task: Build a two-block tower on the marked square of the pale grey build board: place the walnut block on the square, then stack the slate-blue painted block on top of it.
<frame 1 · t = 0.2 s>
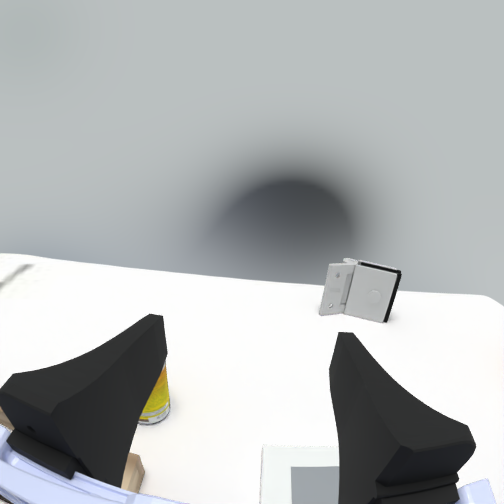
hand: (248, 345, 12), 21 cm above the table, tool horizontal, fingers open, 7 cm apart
build board: (322, 496, 23), on the table
plank frame: (5, 474, 17), on the table
hinge: (352, 315, 57), on the table
supplement bottle: (147, 409, 32), on the table
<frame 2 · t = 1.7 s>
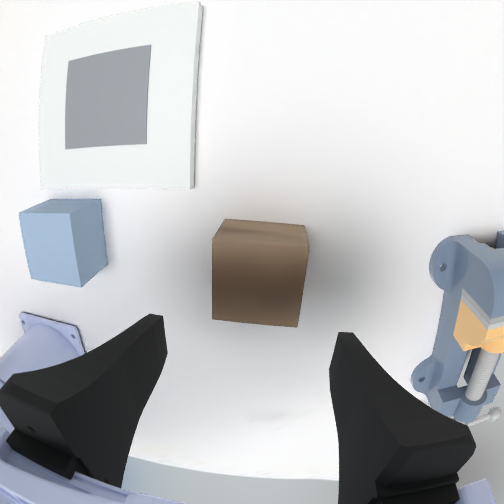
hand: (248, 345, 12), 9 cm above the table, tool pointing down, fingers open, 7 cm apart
build board: (111, 98, 18), on the table
vise: (463, 330, 22), on the table
walnut block: (261, 257, 21), on the table
blue block: (78, 230, 21), on the table
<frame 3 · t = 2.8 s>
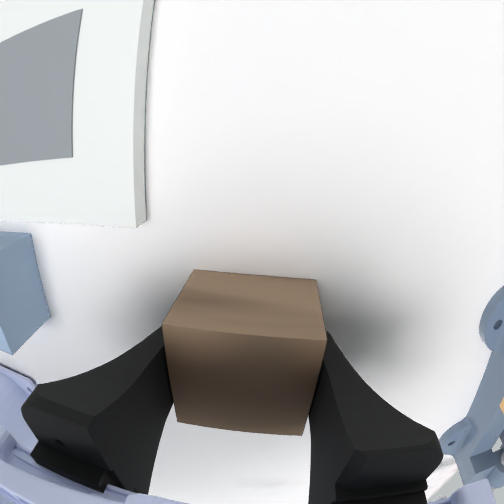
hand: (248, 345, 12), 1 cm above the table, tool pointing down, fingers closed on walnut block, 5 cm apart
build board: (36, 93, 10), on the table
walnut block: (251, 325, 14), on the table, touching gripper
blue block: (14, 271, 14), on the table
when the fingers open (3 cm above the table, at t = 6.2 s): walnut block stays where it is, resting on build board.
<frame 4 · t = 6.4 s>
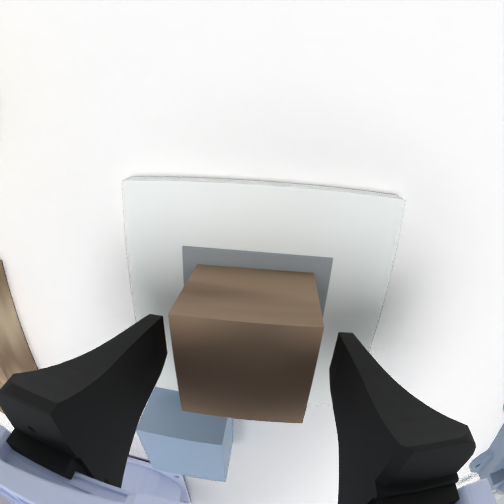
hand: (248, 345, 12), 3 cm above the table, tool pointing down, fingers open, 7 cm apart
build board: (254, 304, 15), on the table
walnut block: (252, 317, 14), point 1 cm above the table, touching build board
blue block: (196, 413, 19), on the table
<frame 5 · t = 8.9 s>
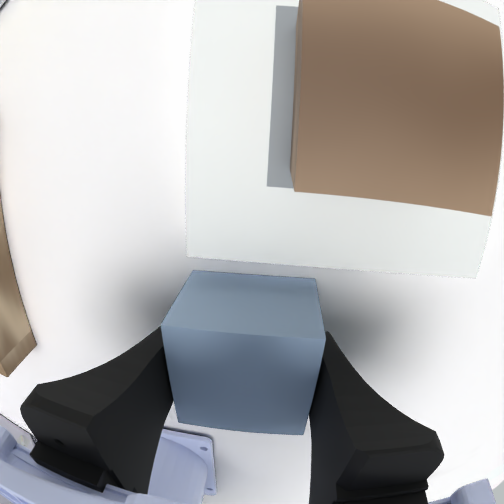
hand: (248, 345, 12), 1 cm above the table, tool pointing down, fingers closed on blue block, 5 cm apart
build board: (361, 104, 10), on the table
walnut block: (369, 102, 9), point 1 cm above the table, touching build board
blue block: (251, 325, 14), on the table, touching gripper
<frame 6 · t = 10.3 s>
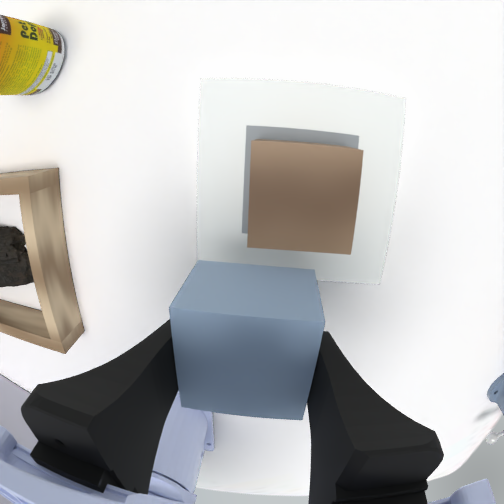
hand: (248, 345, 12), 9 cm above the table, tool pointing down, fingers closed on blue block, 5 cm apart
build board: (298, 181, 19), on the table
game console: (5, 384, 32), on the table
supplement bottle: (43, 62, 17), on the table
walnut block: (299, 184, 18), point 1 cm above the table, touching build board
blue block: (252, 314, 14), point 7 cm above the table, touching gripper
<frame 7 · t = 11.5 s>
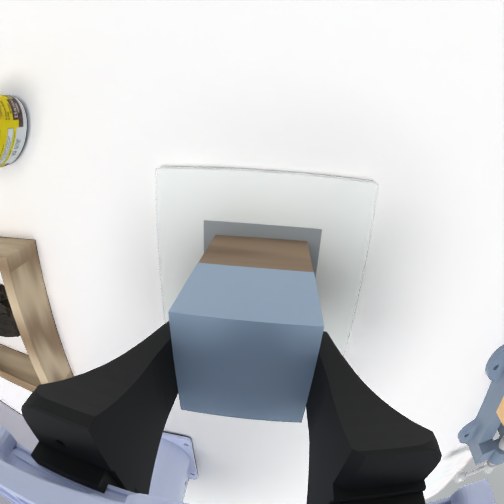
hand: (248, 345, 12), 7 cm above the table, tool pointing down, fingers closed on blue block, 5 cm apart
build board: (260, 270, 19), on the table
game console: (6, 409, 33), on the table
vise: (500, 397, 23), on the table
supplement bottle: (9, 129, 17), on the table
walnut block: (258, 279, 18), point 1 cm above the table, touching blue block, build board
blue block: (252, 316, 14), point 5 cm above the table, touching gripper, walnut block
when the fingers open (7 cm above the table, at t = 11.6 s): blue block stays where it is, resting on walnut block.
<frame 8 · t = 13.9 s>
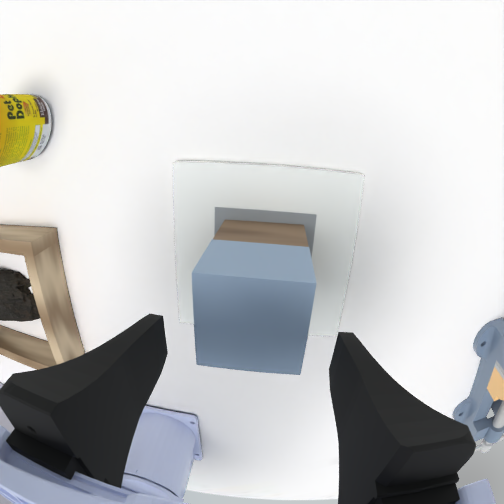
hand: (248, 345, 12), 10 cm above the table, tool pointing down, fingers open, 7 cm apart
build board: (263, 251, 22), on the table
vise: (492, 376, 25), on the table
supplement bottle: (33, 126, 20), on the table
walnut block: (262, 258, 21), point 1 cm above the table, touching blue block, build board
blue block: (257, 286, 17), point 5 cm above the table, touching walnut block
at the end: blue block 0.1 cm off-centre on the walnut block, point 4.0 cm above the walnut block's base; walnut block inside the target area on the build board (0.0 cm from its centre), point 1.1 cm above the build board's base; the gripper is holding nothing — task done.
